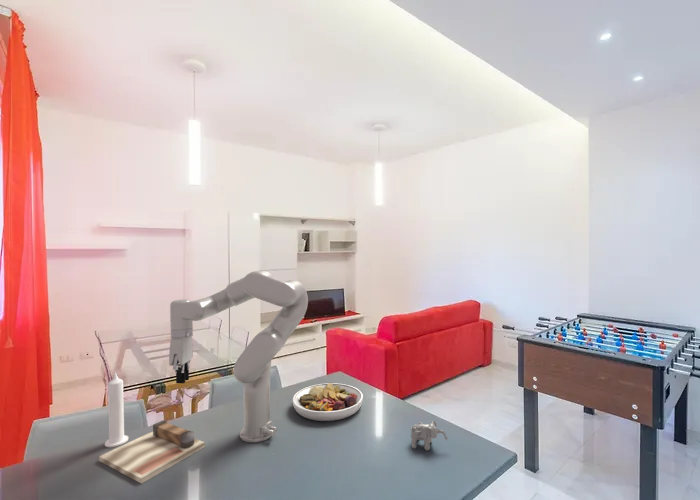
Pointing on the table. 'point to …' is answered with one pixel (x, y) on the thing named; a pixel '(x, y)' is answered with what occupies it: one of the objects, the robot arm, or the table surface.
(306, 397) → the bowl
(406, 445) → the table surface
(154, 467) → the ash board
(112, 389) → the candle
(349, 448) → the table surface
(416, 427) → the gray elephant figurine
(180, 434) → the bar
